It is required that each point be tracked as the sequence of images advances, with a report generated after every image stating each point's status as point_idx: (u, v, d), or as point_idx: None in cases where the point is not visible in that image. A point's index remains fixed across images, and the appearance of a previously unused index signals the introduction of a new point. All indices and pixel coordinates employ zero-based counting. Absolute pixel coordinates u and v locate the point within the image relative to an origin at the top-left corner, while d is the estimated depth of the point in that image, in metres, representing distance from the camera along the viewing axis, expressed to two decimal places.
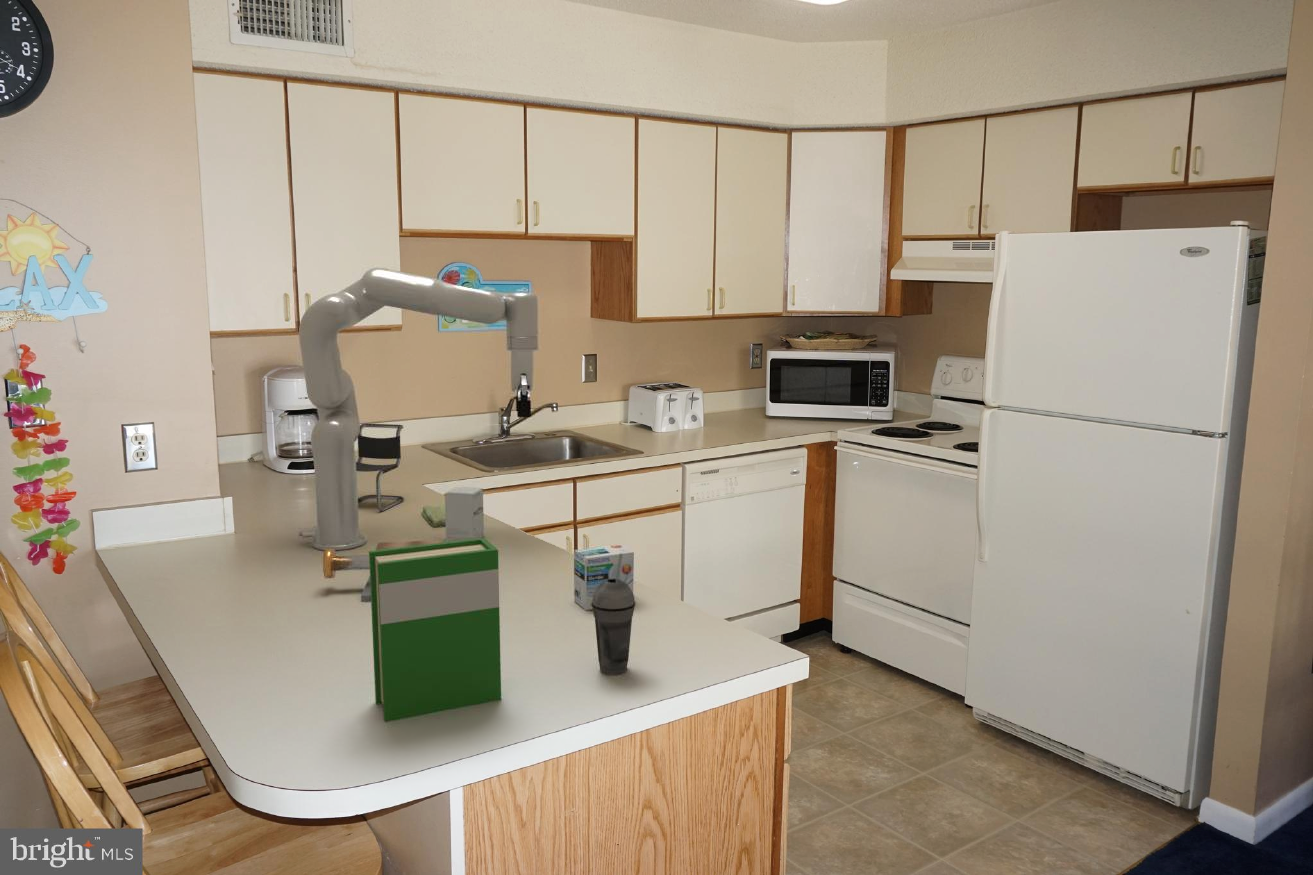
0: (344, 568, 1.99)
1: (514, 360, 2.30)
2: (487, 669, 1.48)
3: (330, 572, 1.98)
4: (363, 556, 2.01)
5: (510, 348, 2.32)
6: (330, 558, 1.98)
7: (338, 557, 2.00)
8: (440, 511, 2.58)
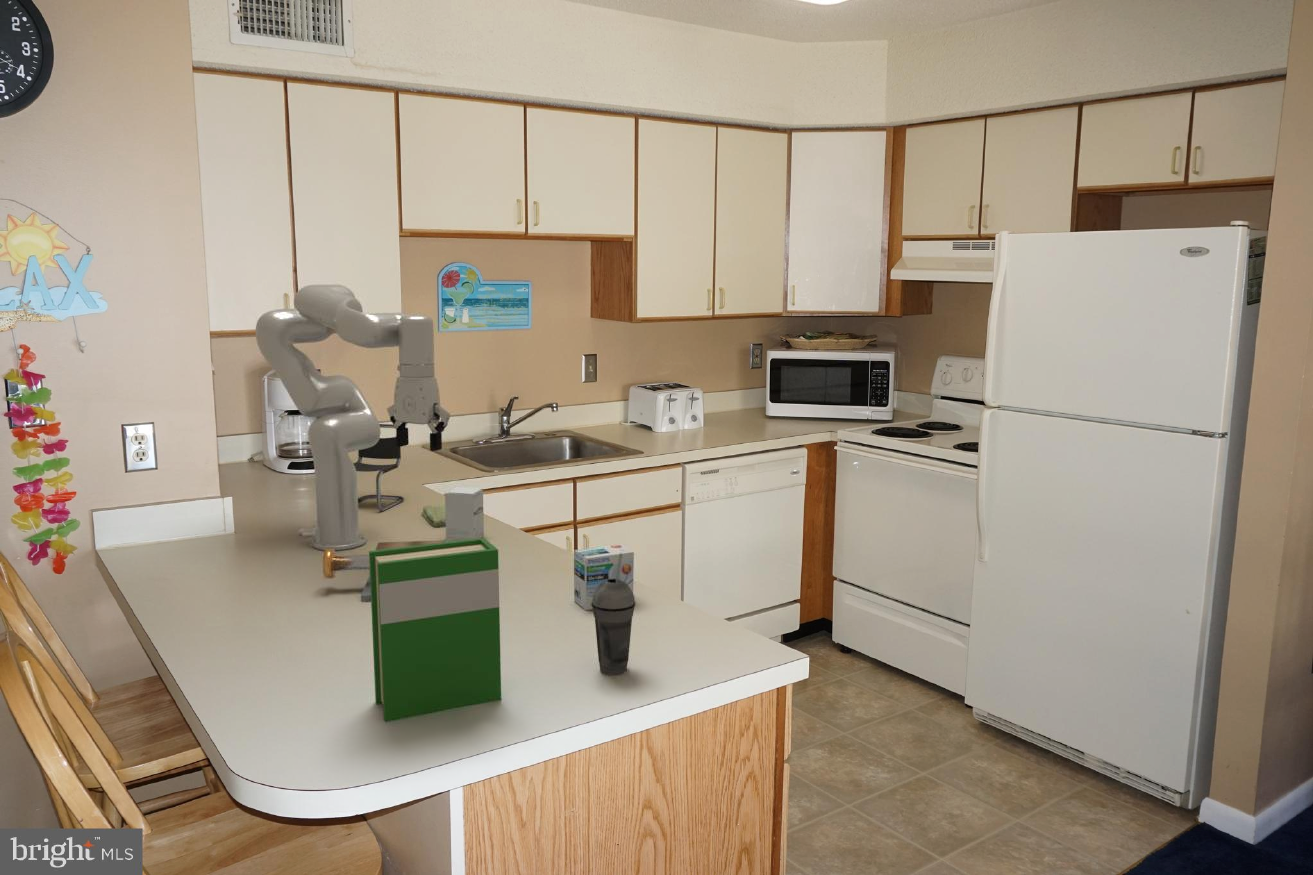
0: (344, 568, 1.99)
1: (426, 390, 2.10)
2: (487, 669, 1.48)
3: (330, 572, 1.98)
4: (363, 556, 2.01)
5: (416, 377, 2.10)
6: (330, 558, 1.98)
7: (338, 557, 2.00)
8: (440, 511, 2.58)
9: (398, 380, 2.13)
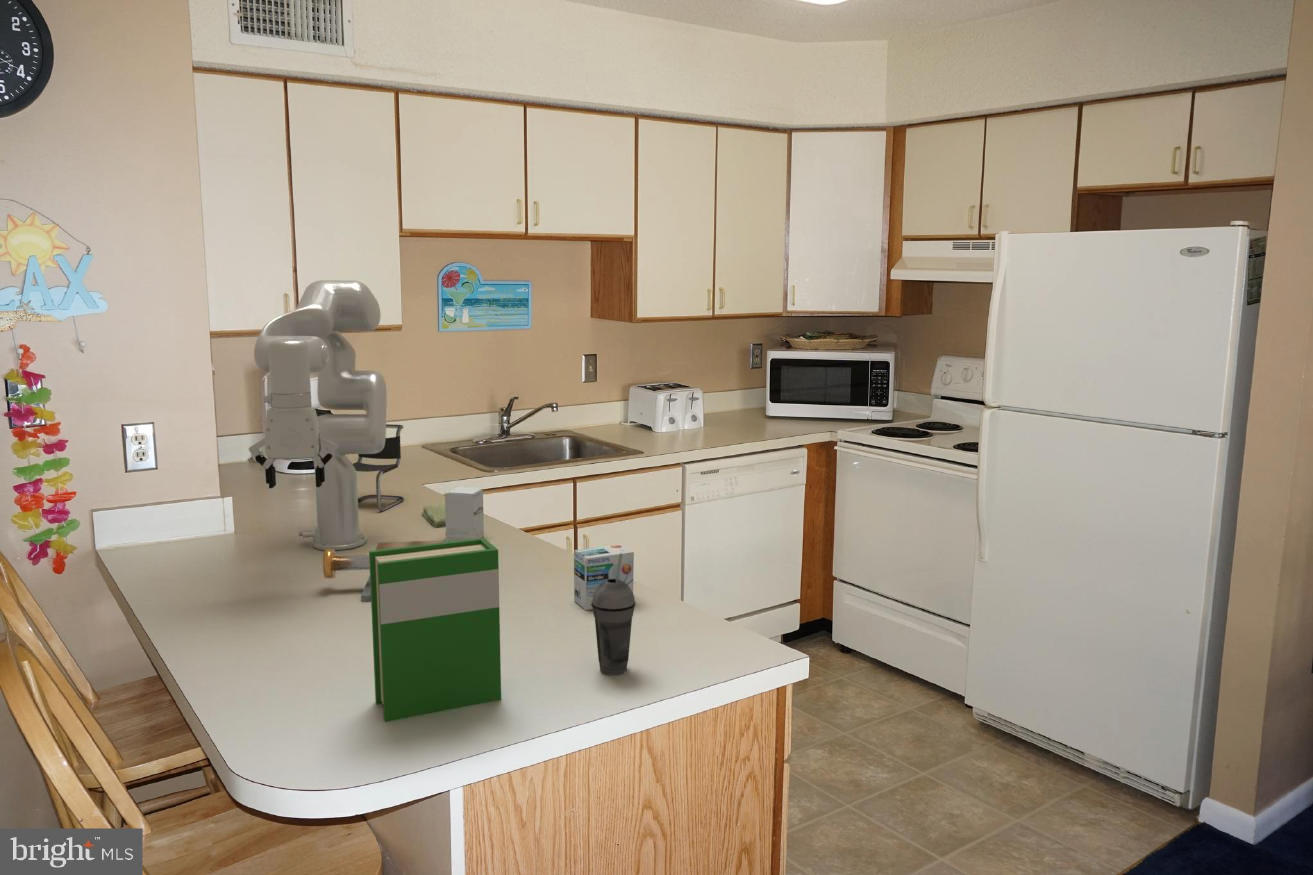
0: (344, 568, 1.99)
1: (313, 420, 1.93)
2: (487, 669, 1.48)
3: (330, 572, 1.98)
4: (363, 556, 2.01)
5: (300, 407, 1.91)
6: (330, 558, 1.98)
7: (338, 557, 2.00)
8: (441, 511, 2.58)
9: (272, 412, 1.91)
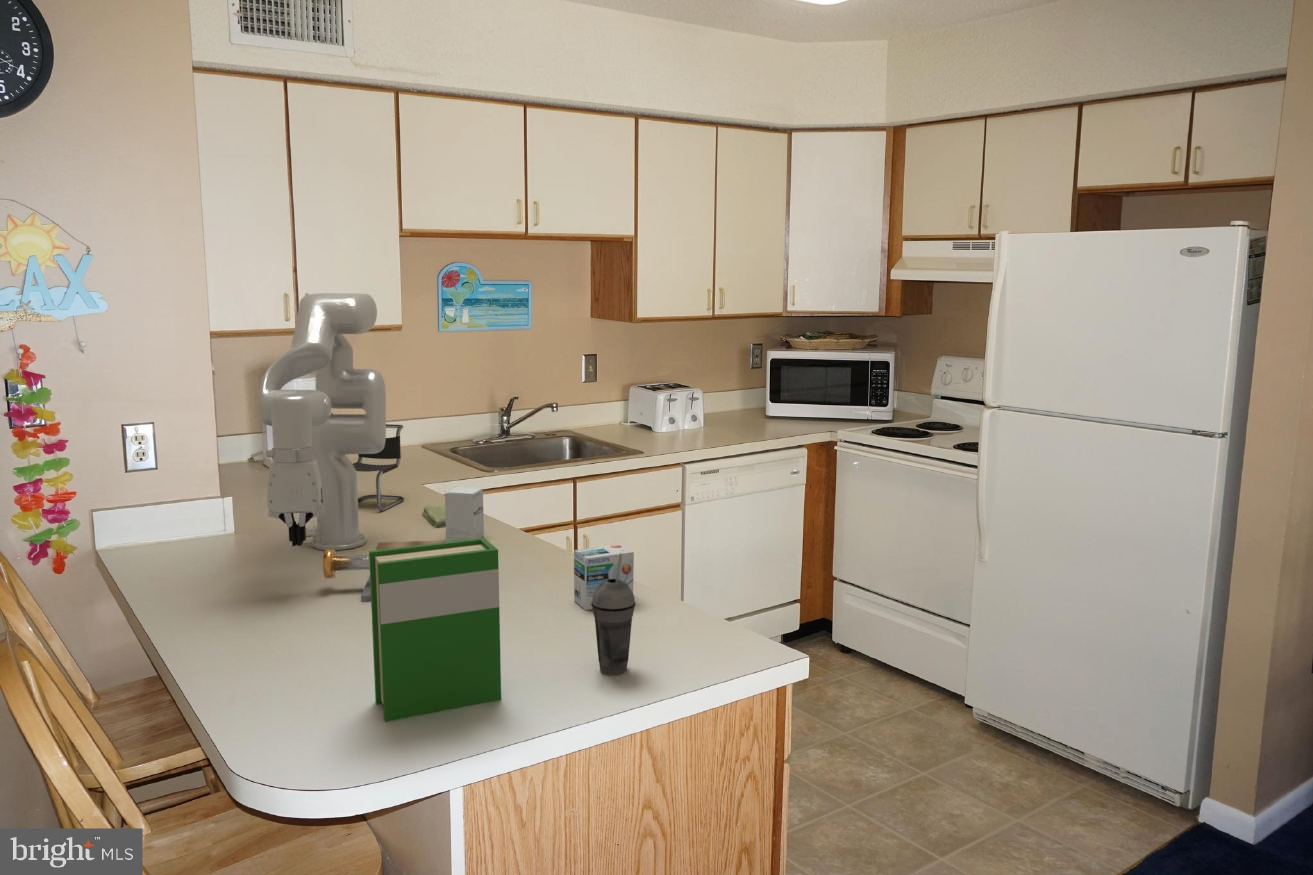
0: (344, 568, 1.99)
1: (315, 474, 1.94)
2: (487, 669, 1.48)
3: (330, 572, 1.98)
4: (363, 556, 2.01)
5: (303, 462, 1.93)
6: (330, 558, 1.98)
7: (338, 557, 2.00)
8: (442, 511, 2.58)
9: (274, 467, 1.93)
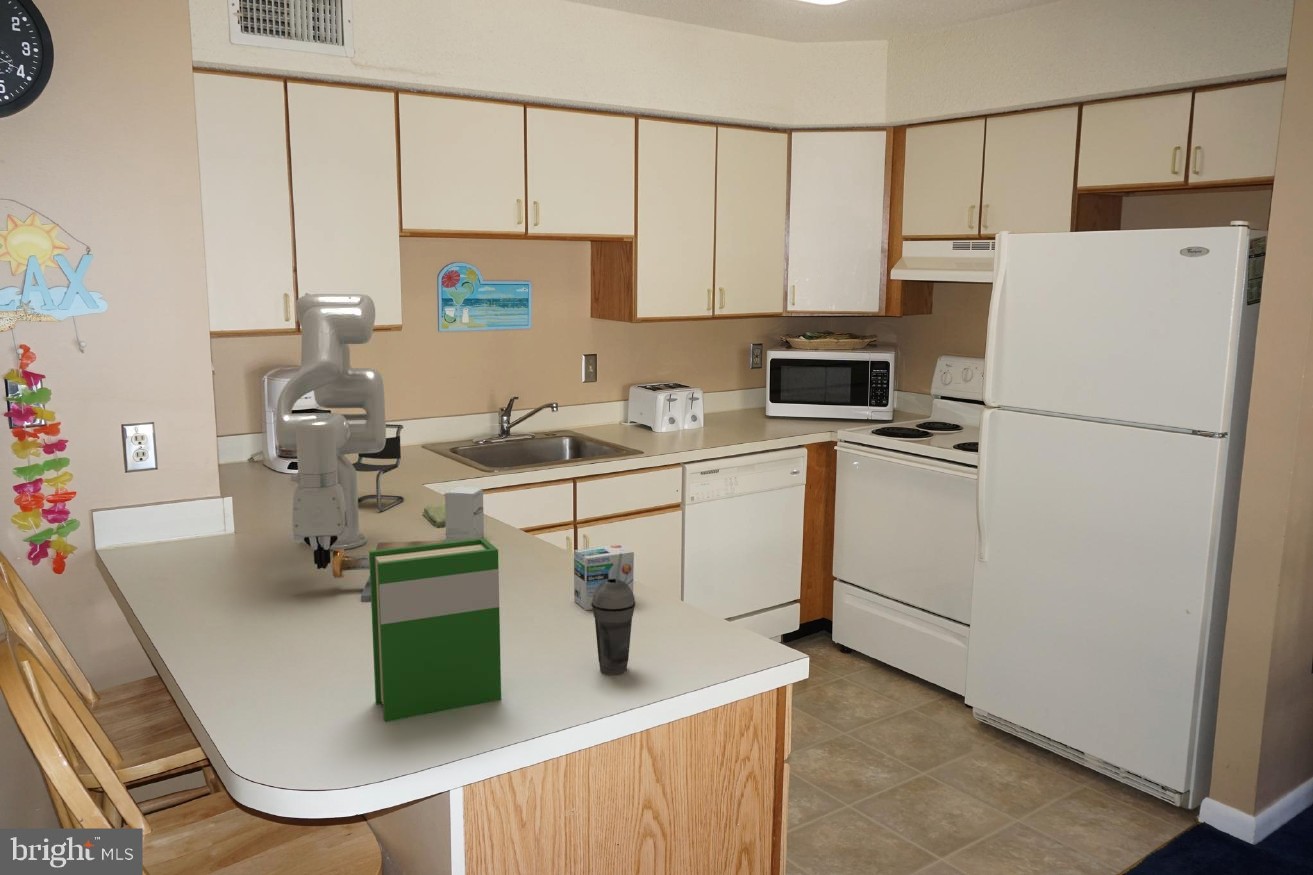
0: (353, 568, 2.00)
1: (340, 498, 1.96)
2: (487, 669, 1.48)
3: (339, 572, 1.98)
4: None
5: (327, 486, 1.95)
6: (339, 558, 1.98)
7: (347, 557, 2.00)
8: (442, 511, 2.58)
9: (299, 492, 1.94)
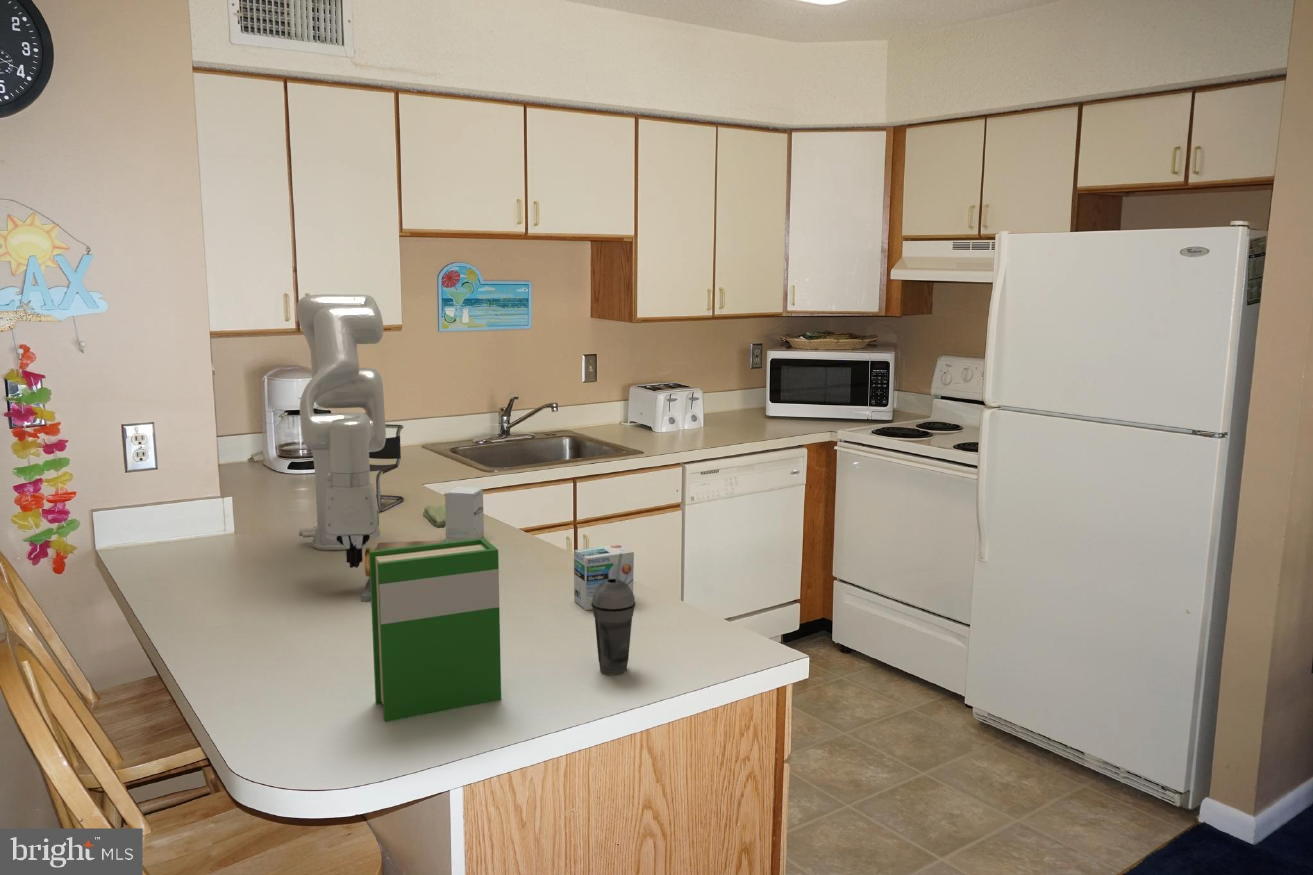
0: None
1: (373, 497, 1.97)
2: (487, 669, 1.48)
3: None
4: None
5: (360, 486, 1.96)
6: None
7: None
8: (443, 511, 2.58)
9: (332, 491, 1.95)
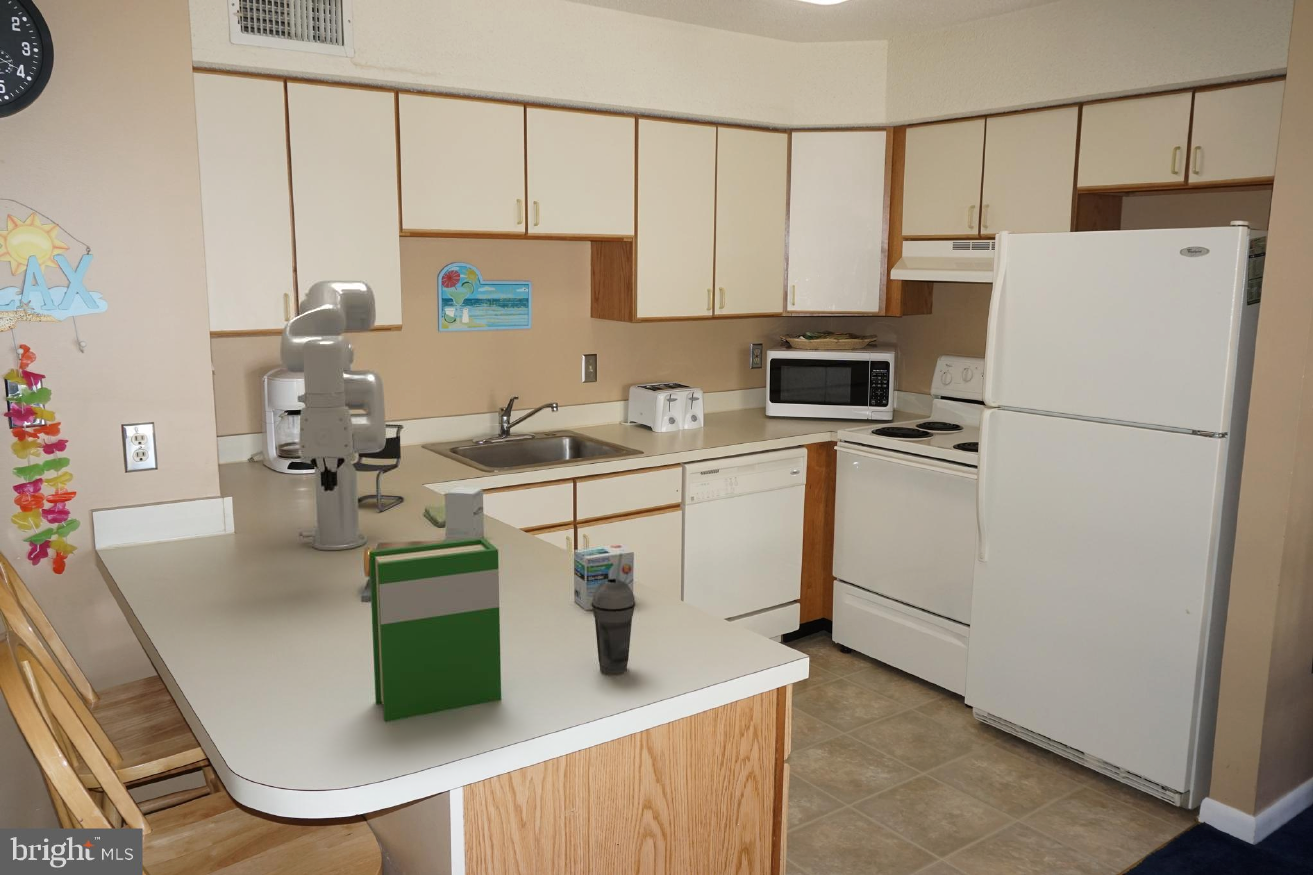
0: None
1: (347, 419, 1.95)
2: (487, 669, 1.48)
3: None
4: None
5: (334, 407, 1.93)
6: None
7: None
8: (443, 511, 2.58)
9: (306, 412, 1.93)
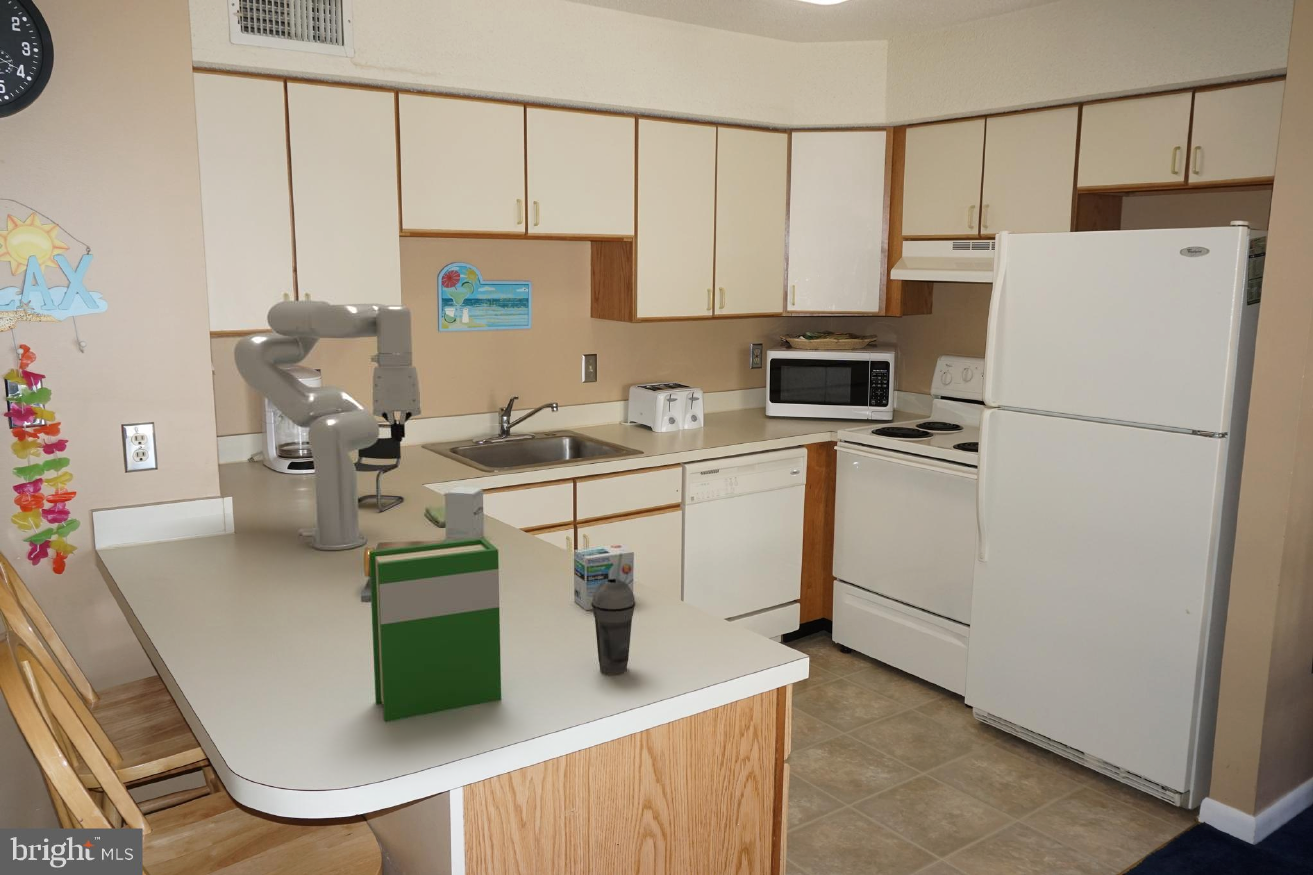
0: None
1: (415, 377, 2.18)
2: (487, 669, 1.48)
3: None
4: None
5: (404, 365, 2.16)
6: None
7: None
8: (444, 511, 2.58)
9: (379, 370, 2.16)
